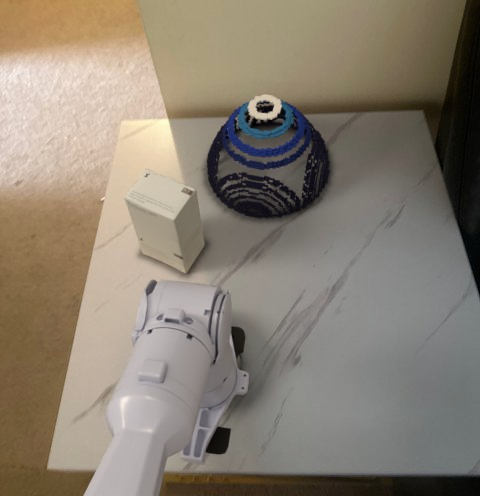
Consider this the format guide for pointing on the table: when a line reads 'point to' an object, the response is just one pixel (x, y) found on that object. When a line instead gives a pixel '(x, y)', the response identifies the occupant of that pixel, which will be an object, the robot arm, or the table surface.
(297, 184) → the table surface
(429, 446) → the table surface
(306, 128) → the decorative bowl
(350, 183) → the table surface
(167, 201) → the cosmetic box
